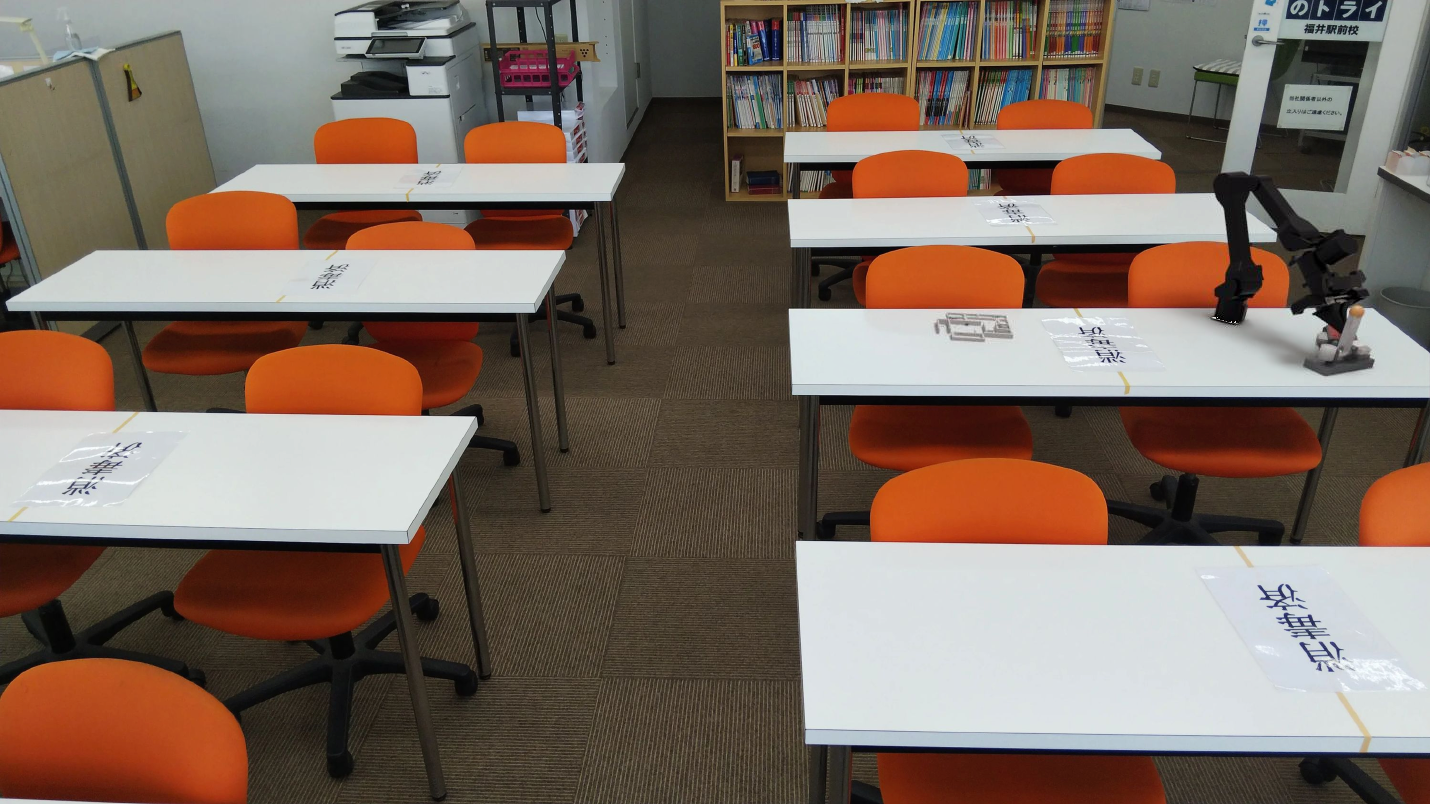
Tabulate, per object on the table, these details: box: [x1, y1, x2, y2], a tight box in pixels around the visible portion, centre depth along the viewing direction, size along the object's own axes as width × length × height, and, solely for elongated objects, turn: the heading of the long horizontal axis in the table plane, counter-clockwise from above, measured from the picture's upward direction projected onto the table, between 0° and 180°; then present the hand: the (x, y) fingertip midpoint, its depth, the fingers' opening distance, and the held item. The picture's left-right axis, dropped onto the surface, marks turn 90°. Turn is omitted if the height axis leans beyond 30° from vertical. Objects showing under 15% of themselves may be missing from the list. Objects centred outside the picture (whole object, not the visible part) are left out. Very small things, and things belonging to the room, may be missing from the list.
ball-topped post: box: [1337, 305, 1366, 358], centre depth 222 cm, size 3×4×13 cm
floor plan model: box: [936, 312, 1014, 343], centre depth 244 cm, size 19×25×2 cm
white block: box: [1352, 339, 1372, 355], centre depth 225 cm, size 4×3×1 cm
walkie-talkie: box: [1315, 324, 1359, 348], centre depth 237 cm, size 9×4×20 cm
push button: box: [1317, 344, 1337, 361], centre depth 222 cm, size 3×3×3 cm
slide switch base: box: [1302, 345, 1376, 377], centre depth 225 cm, size 6×15×5 cm, turn 109°
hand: (1344, 333), depth 223 cm, fingers closed, pressing on ball-topped post
